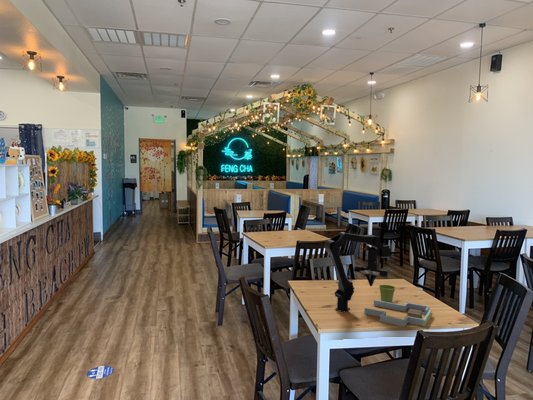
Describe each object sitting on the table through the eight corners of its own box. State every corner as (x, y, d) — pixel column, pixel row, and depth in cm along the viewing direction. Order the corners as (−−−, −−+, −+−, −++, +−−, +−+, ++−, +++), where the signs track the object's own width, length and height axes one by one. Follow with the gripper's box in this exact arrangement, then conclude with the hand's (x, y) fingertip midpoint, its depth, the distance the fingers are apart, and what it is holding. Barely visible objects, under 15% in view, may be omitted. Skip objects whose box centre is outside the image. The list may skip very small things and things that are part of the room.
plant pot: (380, 297, 235) (381, 283, 234) (396, 300, 230) (397, 286, 229) (376, 302, 227) (376, 287, 226) (393, 305, 222) (393, 290, 221)
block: (419, 322, 197) (419, 314, 197) (407, 319, 200) (407, 312, 200) (421, 318, 202) (422, 311, 202) (409, 316, 205) (409, 308, 205)
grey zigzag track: (422, 330, 186) (422, 324, 186) (360, 317, 202) (360, 311, 202) (433, 312, 211) (433, 307, 210) (377, 302, 227) (377, 297, 226)
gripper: (393, 258, 218) (392, 286, 219) (361, 253, 229) (360, 280, 229) (387, 261, 209) (386, 290, 210) (354, 256, 219) (352, 284, 220)
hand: (371, 286), depth 218 cm, fingers closed
